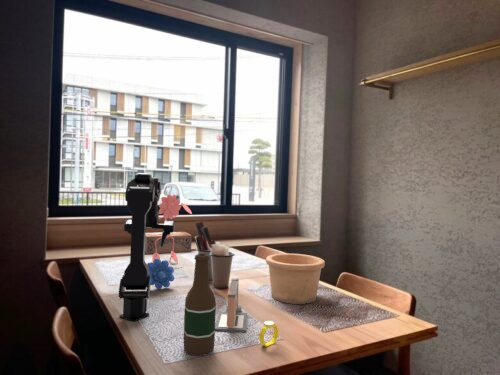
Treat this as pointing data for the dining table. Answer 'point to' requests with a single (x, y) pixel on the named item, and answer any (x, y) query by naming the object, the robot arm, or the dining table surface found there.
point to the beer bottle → (200, 311)
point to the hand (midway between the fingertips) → (149, 246)
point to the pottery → (294, 277)
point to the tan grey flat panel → (232, 301)
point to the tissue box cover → (168, 243)
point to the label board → (238, 324)
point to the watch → (263, 330)
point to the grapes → (160, 273)
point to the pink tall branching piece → (170, 217)
